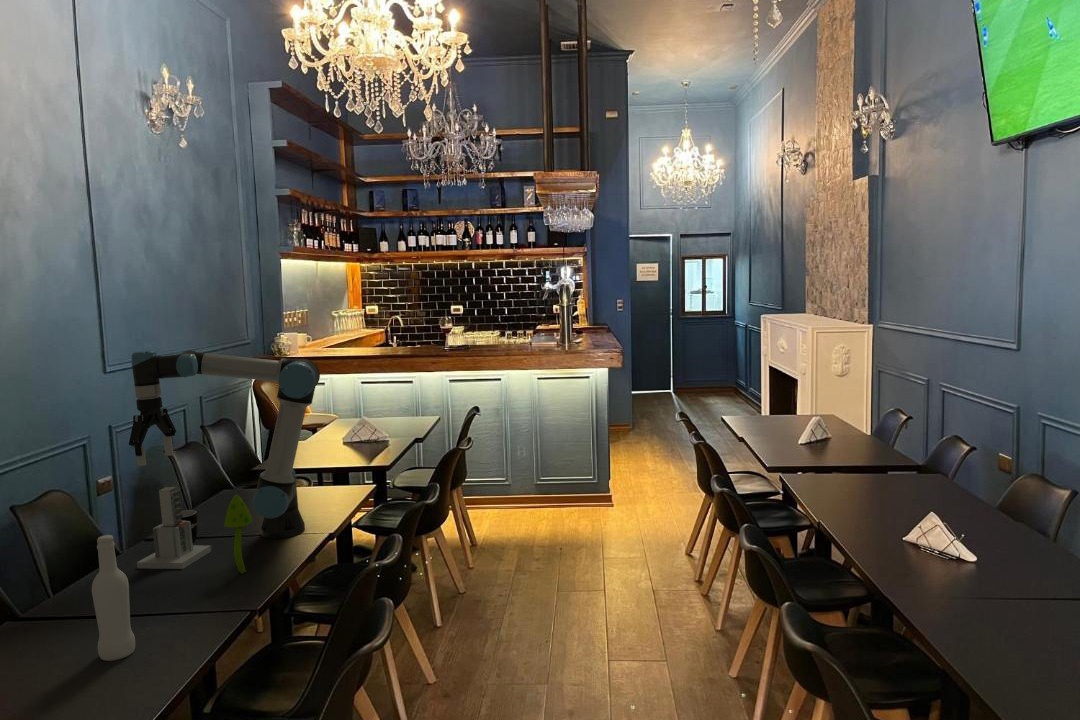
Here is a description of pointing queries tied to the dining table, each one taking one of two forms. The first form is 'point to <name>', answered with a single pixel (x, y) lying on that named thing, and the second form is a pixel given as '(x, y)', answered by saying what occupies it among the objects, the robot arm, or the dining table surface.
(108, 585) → the bottle
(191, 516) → the mug
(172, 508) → the column
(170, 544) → the stand base
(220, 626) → the dining table surface
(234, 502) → the mushroom
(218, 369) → the robot arm
